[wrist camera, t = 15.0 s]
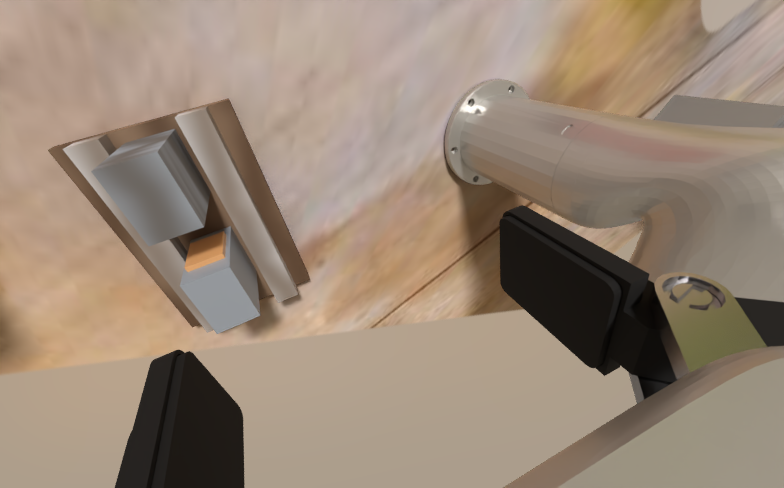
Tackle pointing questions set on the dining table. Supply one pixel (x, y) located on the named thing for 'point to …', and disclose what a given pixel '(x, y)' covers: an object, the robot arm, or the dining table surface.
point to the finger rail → (214, 201)
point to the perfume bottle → (721, 113)
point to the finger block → (221, 280)
